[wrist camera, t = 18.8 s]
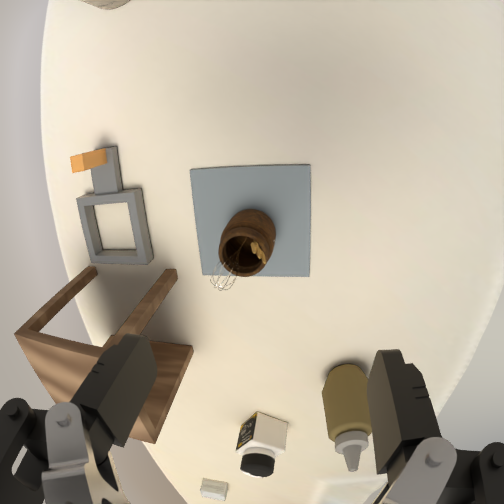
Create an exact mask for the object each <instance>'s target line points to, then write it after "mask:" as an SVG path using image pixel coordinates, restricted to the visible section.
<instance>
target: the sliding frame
mask: <svg viewBox="0 0 504 504" xmlns="http://www.w3.org/2000/svg"><path fill="white" fill-rule="evenodd" d="M70 160H71V167H72V173H75V172H80V171H85V170H88V169H91V175H92V181H93V187H94V194H86V195H83V196H81V197H78V198H76V200H77V205H78V210H79V215H80V219H81V224H82V228H83V232H84V236H85V240H86V244H87V248H88V252H89V256H90V260H91V263H104V264H139V265H148V263H149V262H150V261H151V260H152V259H153V254H152V249H151V243H150V238H149V233H148V227H147V222H146V216H145V210H144V204H143V197H142V190H141V188H140V189H130V190H122V183H121V177H120V170H119V162H118V154H117V146H115V147H110V148H104V149H99V150H94V151H90V152H86V153H82V154H79V155H75V156H71V157H70ZM123 202H127V203H128V209H129V214H130V220H131V225H132V230H133V235H134V240H135V245H136V250H102V246H101V242H100V237H99V233H98V229H97V224H96V220H95V215H94V210H93V205H100V204H111V203H123Z"/></svg>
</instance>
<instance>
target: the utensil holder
mask: <svg viewBox="0 0 504 504" xmlns="http://www.w3.org/2000/svg"><path fill="white" fill-rule="evenodd" d="M275 240H276V229H275V226H274V223H273V221H272V220H271V218H270V217H269V216H268V215H267V214H265V213H264V212H262V211H259V210H256V209H246V210H242V211H240V212H238V213H237V214H235V215H234V216H233V217H232V218H231V219H230V221H229V222H228V224H227V225H226V227H225V228H224V230H223V232H222V235H221V238H220V244H219V250H218V255H219V259H220V262H221V265H223V267H224V268H225V269H226V270H227V271H229V272H230V273H229V274H231V273H232V274H234V275H236V276H241V277H249V276H253V275H255V274H257V273H259V272H260V271H261V270H262V269H263V268H264V267H265V265H266V264H267V262H268V260H269V259H270V257H271V255H272V253H273V250H274V245H275ZM218 264H219V263H218ZM218 264H217V265H218ZM223 267H222V268H223ZM215 268H216V267H215ZM217 268H218V267H217ZM222 268H221V269H222ZM214 270H215V269H214ZM215 271H216V270H215ZM215 271H213V272H215ZM220 271H221V270H220ZM223 272H224V271H223ZM223 272H222V273H223ZM213 274H214V273H213ZM219 274H220V273H219ZM221 275H222V274H221ZM221 275H220V276H221ZM212 276H213V275H212ZM212 276H211V277H212ZM228 276H229V275H228ZM228 276H227V277H228ZM227 277H226V278H227ZM229 277H230V276H229ZM219 278H220V277H219V276H218V279H219ZM228 279H229V278H228ZM235 279H236V277H235ZM235 279H234V280H233V281H235ZM213 280H214V279H213ZM210 281H211V279H210ZM217 281H218V280H217ZM224 281H225V280H224ZM224 281H223V282H224ZM227 281H228V280H227ZM214 282H215V281H214ZM223 282H222V283H223ZM211 283H212V282H211ZM216 283H217V282H216ZM216 283H215V284H216ZM222 283H221V284H222ZM226 283H227V282H226ZM233 283H234V282H233ZM221 284H220V285H221ZM230 284H231V283H230ZM230 284H229V285H230ZM213 285H214V284H213ZM216 285H217V284H216ZM216 285H214V287H215V286H216ZM225 285H226V284H225ZM232 285H233V284H232ZM232 285H231V286H232ZM226 286H228V285H226ZM217 287H218V289H219V288H220V287H223V288H224V287H225V286H218V285H217ZM217 287H215V288H217ZM230 288H231V287H230ZM230 288H229V289H230ZM221 289H222V288H221ZM222 290H228V289H222ZM222 290H219V291H222Z"/></svg>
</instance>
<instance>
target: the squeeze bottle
mask: <svg viewBox="0 0 504 504" xmlns="http://www.w3.org/2000/svg"><path fill="white" fill-rule="evenodd" d="M367 382H368V378H367V377H366V375H365V374H364V373H363V371H362V370H361V369H360V367H358V366H356V365H353V364H344V365H340V366H338V367H335V368H334V369H333V370H332V371H330V373H329V375H328V378H327V380H326V383H325V385H324V388H323V390H322V397H323V403H324V410H325V416H326V423H327V430H328V436H329V438H330V439H331V440H332V441H334V442H335V451H336V452H337V453H339V454H343V455H344V457H345V460H346V464H347V467H348V470H349V471H350V472H353V471H356V470H358V465H359V459H360V454H361V452H362V451H363V450H365V449H366V448H367V447H368V436H369V435H370V434H371V433H372V427H371V420H370V413H369V406H368V400H367Z"/></svg>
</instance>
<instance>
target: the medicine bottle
mask: <svg viewBox="0 0 504 504" xmlns="http://www.w3.org/2000/svg"><path fill="white" fill-rule="evenodd" d="M287 425H288V424H287V423H286V422H284V421H281V420H278V419H275V418H273V417H270V416H267V415H265V414H262V413H259V412H256V413H255V414H254V415H253V416H252V417H251V418H249V419H248V420H247V421H246V422H245V423H244V424H243V425H241V428H240V433H239V438H238V443H237V447H236V453H238V454H241V455H243V457H242V462H241V467H240V469H241V471H242V472H243V473H244V474H246V475H249V476H252V477H267V476H270V475H271V474H273V471H274V463H275V457H276V456H278V455H280V454H281V453H283V452H285V448H286V437H287Z"/></svg>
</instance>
